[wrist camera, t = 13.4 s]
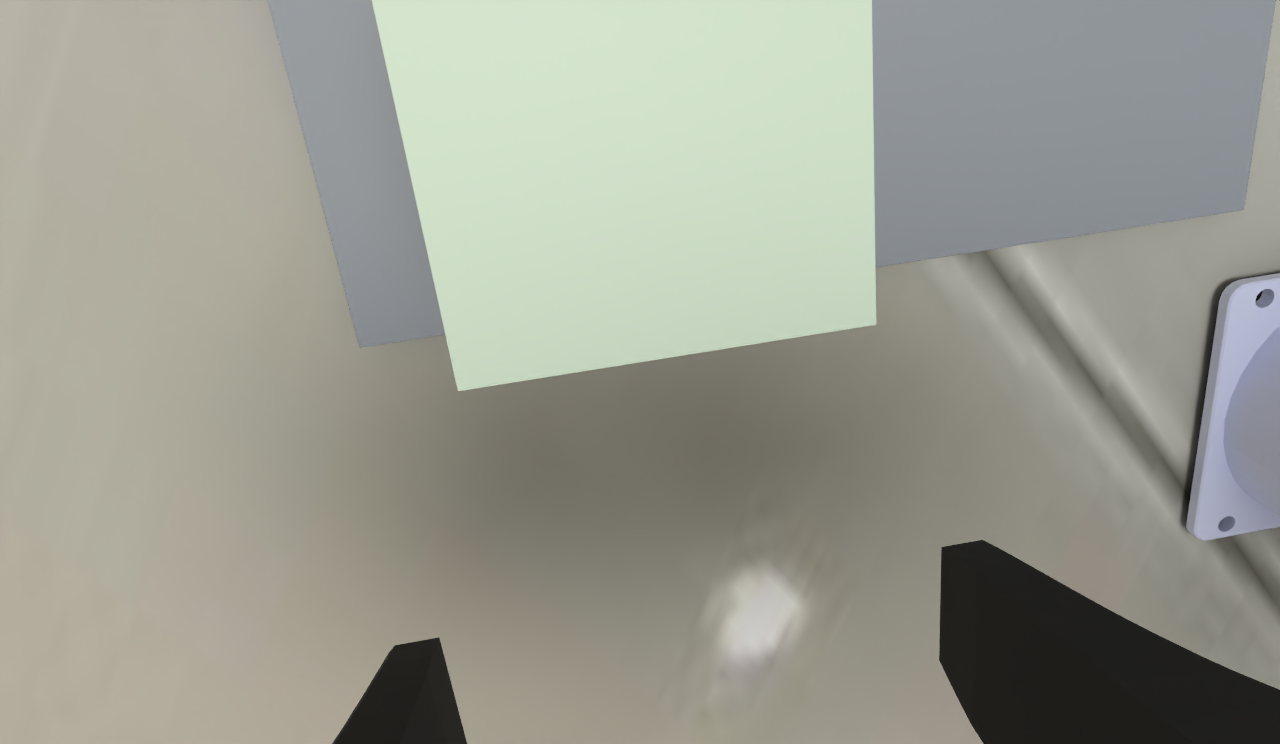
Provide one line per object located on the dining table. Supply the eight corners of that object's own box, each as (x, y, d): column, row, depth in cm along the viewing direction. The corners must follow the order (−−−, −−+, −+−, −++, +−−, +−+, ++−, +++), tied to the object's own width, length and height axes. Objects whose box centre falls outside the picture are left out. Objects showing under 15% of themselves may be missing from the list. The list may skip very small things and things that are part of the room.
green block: (746, -93, 13) (869, -158, 8) (766, 232, 15) (875, 324, 10) (412, -52, 13) (350, -97, 8) (477, 275, 14) (458, 391, 10)
